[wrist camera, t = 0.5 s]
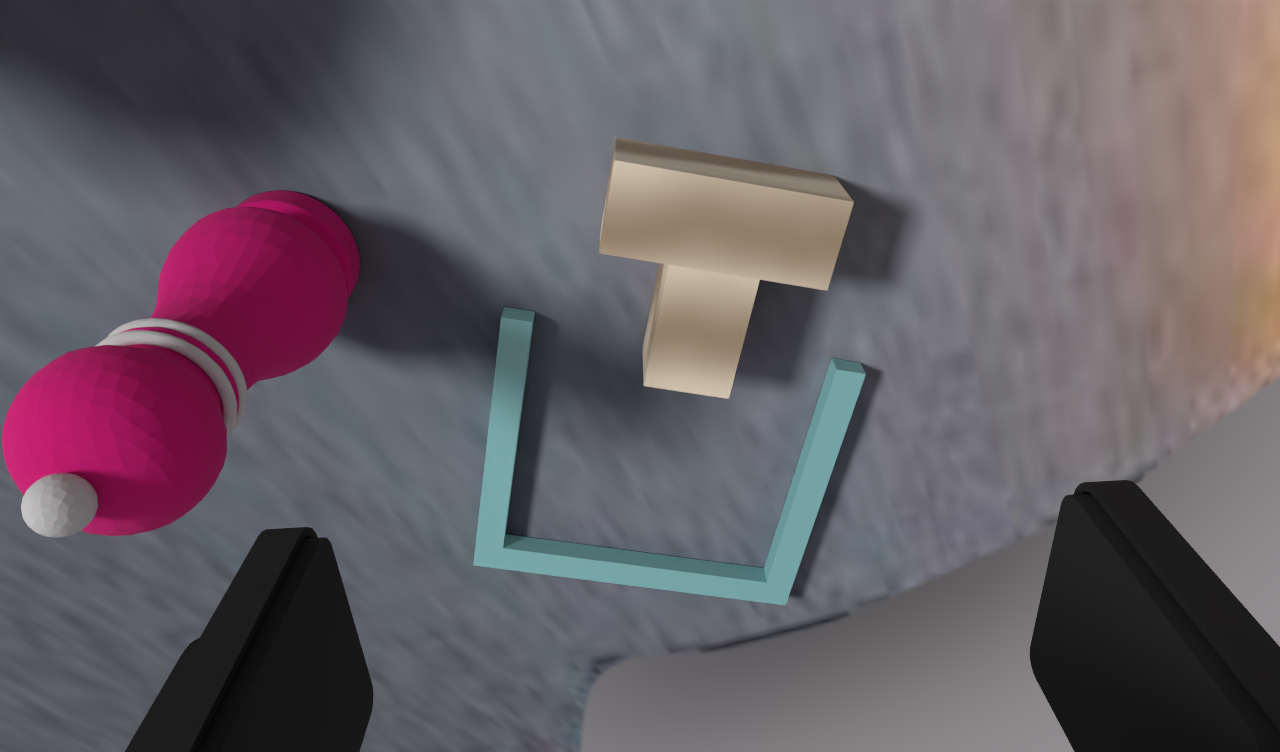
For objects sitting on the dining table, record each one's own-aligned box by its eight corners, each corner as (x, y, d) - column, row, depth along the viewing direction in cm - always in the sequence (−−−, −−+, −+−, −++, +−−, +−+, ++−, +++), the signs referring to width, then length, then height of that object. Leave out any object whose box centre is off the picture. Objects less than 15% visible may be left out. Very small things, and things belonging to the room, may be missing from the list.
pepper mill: (392, 309, 42) (224, 603, 25) (252, 335, 43) (-9, 640, 25) (339, 164, 39) (101, 387, 21) (187, 194, 39) (-166, 436, 22)
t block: (615, 136, 38) (614, 160, 35) (833, 175, 39) (853, 202, 36) (582, 337, 43) (578, 376, 40) (778, 368, 44) (791, 408, 40)
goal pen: (504, 306, 42) (501, 317, 41) (860, 362, 44) (866, 374, 43) (476, 551, 50) (473, 565, 49) (782, 590, 51) (785, 605, 50)
